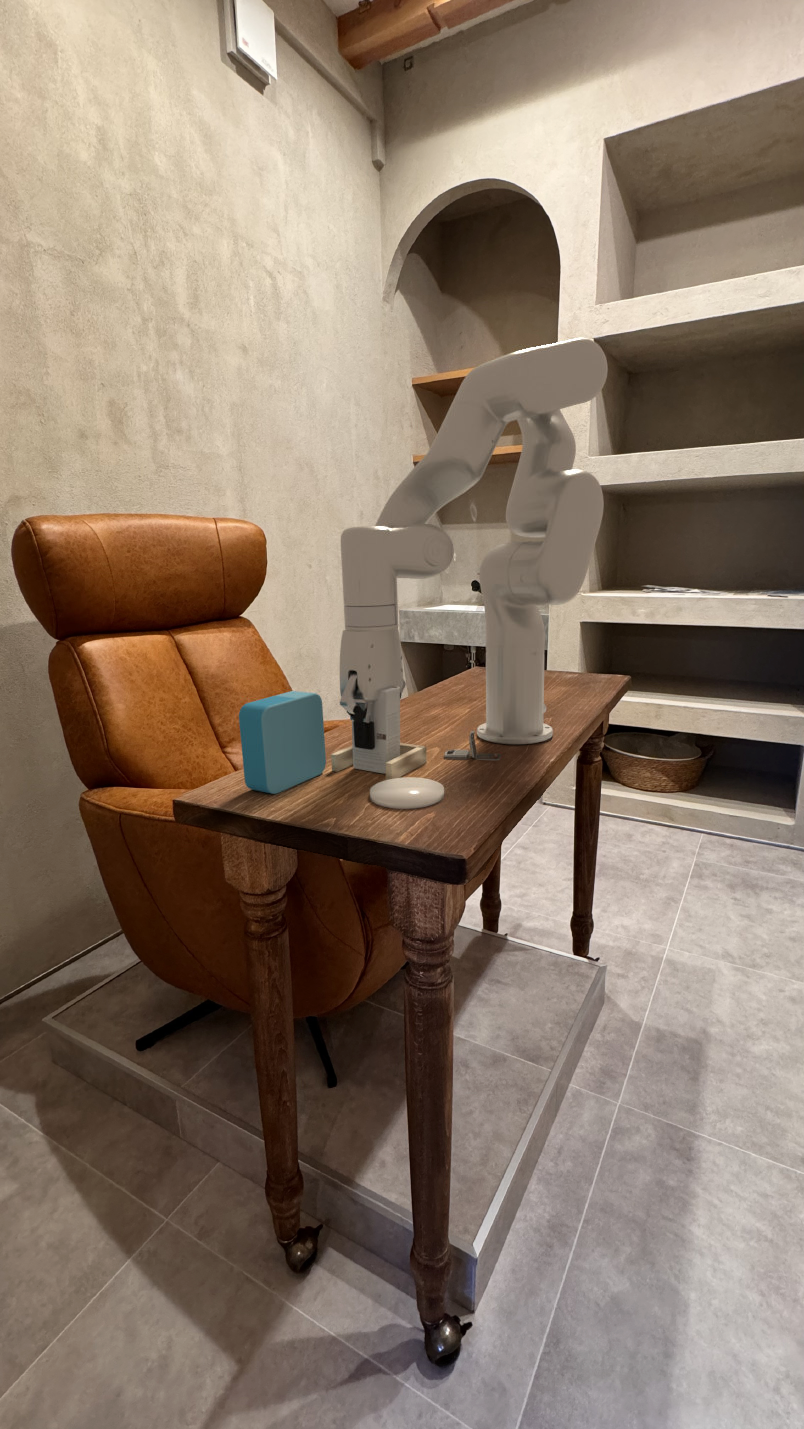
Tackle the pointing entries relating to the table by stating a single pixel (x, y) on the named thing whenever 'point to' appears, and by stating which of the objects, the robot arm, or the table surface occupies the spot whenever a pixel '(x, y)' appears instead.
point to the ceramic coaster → (407, 793)
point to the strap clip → (466, 753)
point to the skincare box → (381, 733)
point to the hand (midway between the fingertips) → (376, 741)
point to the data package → (282, 741)
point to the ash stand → (395, 768)
